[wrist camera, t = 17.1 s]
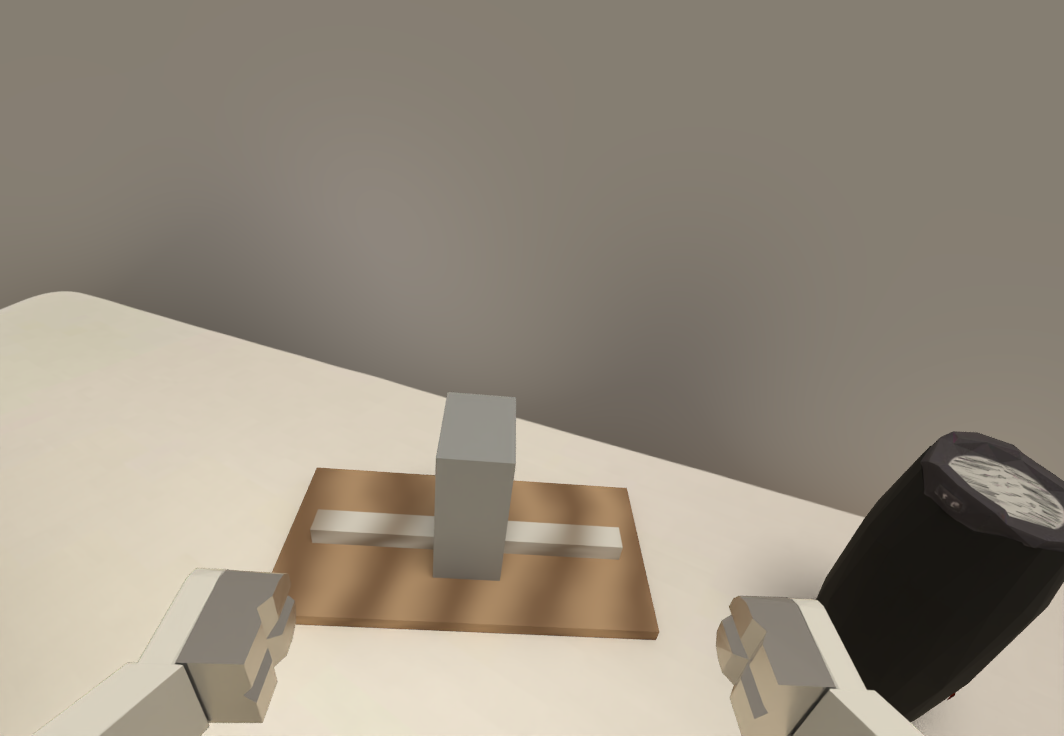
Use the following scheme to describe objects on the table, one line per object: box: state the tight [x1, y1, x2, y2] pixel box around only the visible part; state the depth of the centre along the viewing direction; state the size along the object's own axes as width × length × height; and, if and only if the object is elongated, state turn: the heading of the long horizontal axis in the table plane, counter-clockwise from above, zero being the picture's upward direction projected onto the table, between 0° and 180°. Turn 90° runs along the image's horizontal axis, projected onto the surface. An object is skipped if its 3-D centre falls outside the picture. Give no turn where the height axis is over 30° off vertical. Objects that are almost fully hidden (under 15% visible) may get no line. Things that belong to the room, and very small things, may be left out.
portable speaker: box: [816, 432, 1064, 722], centre depth 34 cm, size 9×9×20 cm
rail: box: [272, 468, 659, 640], centre depth 44 cm, size 28×14×2 cm, turn 91°
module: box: [433, 392, 516, 581], centre depth 41 cm, size 5×7×12 cm
